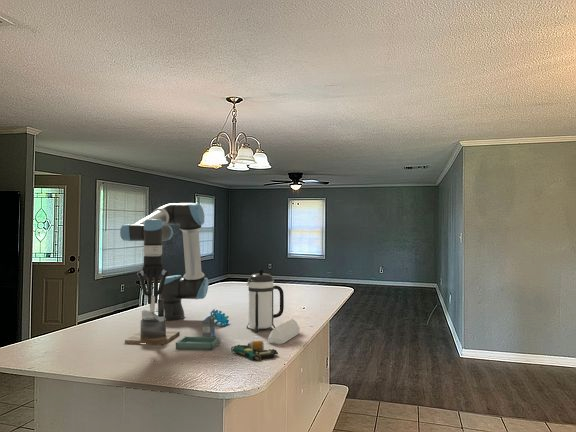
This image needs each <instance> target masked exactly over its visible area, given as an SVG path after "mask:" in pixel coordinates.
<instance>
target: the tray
mask: <svg viewBox="0 0 576 432" xmlns="http://www.w3.org/2000/svg"><path fill="white" fill-rule="evenodd" d="M219 344H220V337H216V336H213V337H203V336H183V337H182V338H181V339H179V340H177V341H176V342H175V349H176V350H201V351H214V349H215V348H216V347H217V346H218V345H219Z"/></svg>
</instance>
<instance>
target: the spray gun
mask: <svg viewBox="0 0 576 432" xmlns="http://www.w3.org/2000/svg"><path fill="white" fill-rule="evenodd" d="M264 345H265V344H264V341H263V340H253V341H250V342H248V343H247V345H246V344H244V345H242V344H237V345H234V346H231V349H230V351H231V352H233V353H235V354H238V355H241V356H243V357H245V358H247V359H249V360H251V361H260V362H261V361H262V360H265V359H271V358H272V359H273V358H275V355H278V354H279V352H278V351H277V350H276V349H274V348H273V349H271V348H270V349H265V348H264V347H265V346H264Z"/></svg>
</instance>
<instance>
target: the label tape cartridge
mask: <svg viewBox="0 0 576 432" xmlns="http://www.w3.org/2000/svg"><path fill="white" fill-rule="evenodd" d="M215 311H216V309H215V308H214V309H212V310H211V311H210V315H209V316H207V317H206V318H204V320H202V337H215V324H214V323H215V320H214V312H215Z"/></svg>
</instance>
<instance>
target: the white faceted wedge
mask: <svg viewBox="0 0 576 432" xmlns="http://www.w3.org/2000/svg"><path fill="white" fill-rule="evenodd" d="M300 333H301V332H300V326H299V324H298V322H297V321H296V320H295V319H293V318H291V319H289V320H287V321H285V322H283V323H281V324H279V325H278V326H275V328H274V327H273V330H272V329H271V331H270V333H269V335H268V337H267V342H268V344H273V345H282V344H285V343H286V342H288V341H289V340H291V339H293V338H294V337H296V336H297V335H299V334H300Z"/></svg>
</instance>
